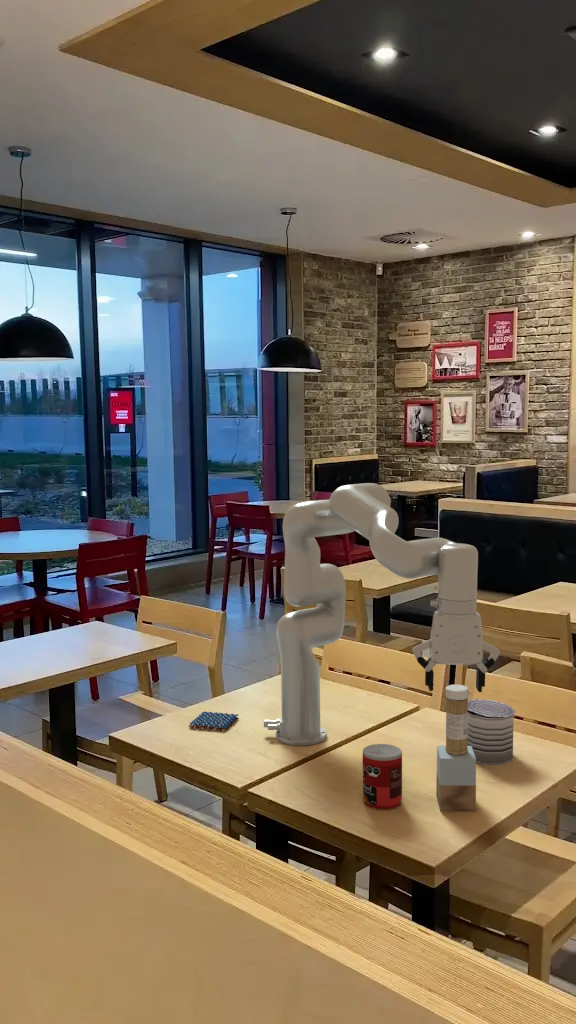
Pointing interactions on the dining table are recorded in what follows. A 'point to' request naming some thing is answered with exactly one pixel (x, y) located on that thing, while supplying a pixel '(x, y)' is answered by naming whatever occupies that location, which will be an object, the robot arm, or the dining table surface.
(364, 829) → the dining table surface
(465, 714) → the sprinkles bottle
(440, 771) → the pale grey-blue cube
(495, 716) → the can
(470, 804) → the tower base slab
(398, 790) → the canned food
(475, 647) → the robot arm
